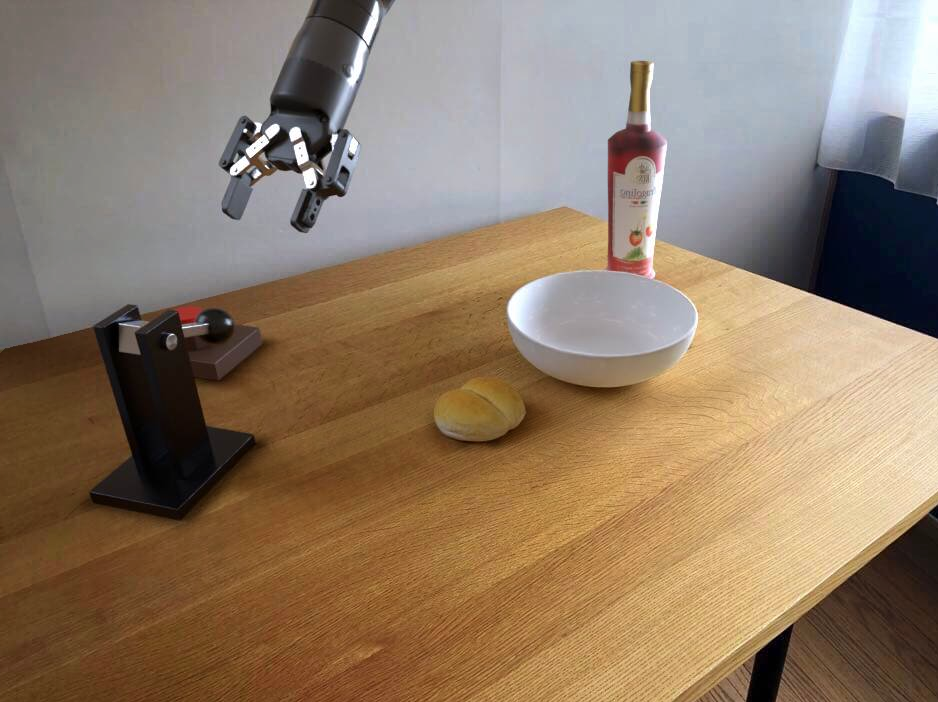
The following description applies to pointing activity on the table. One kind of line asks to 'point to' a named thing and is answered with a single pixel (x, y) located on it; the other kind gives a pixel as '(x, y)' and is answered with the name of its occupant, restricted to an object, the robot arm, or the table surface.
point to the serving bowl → (601, 326)
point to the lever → (185, 329)
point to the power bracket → (161, 422)
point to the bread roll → (479, 410)
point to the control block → (222, 352)
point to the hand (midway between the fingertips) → (263, 222)
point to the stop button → (188, 314)
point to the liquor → (635, 181)
